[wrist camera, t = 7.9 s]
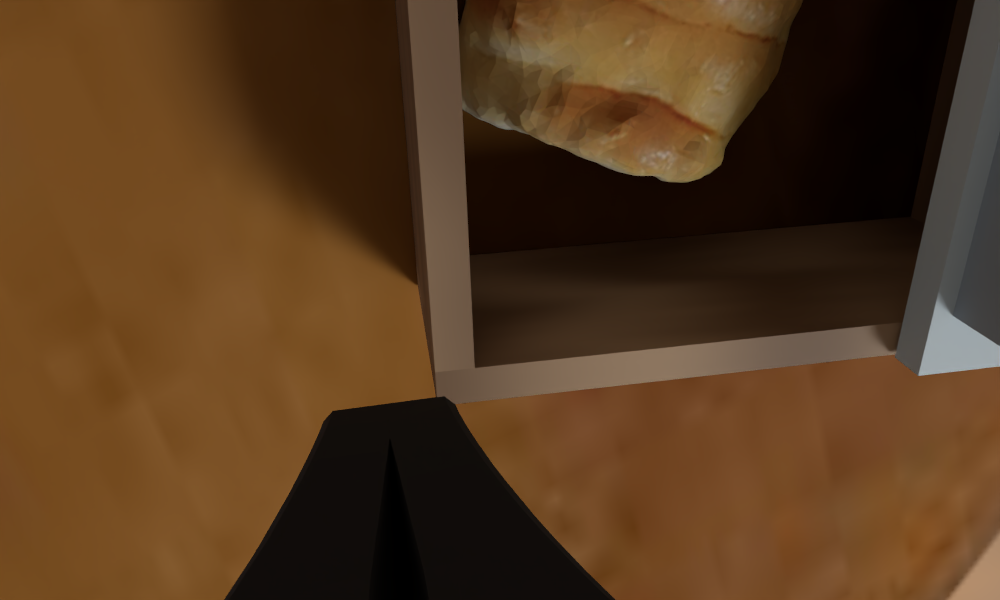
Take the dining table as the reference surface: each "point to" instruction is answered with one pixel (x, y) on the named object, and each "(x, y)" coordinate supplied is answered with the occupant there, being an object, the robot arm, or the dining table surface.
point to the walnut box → (637, 268)
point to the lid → (962, 223)
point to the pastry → (624, 75)
